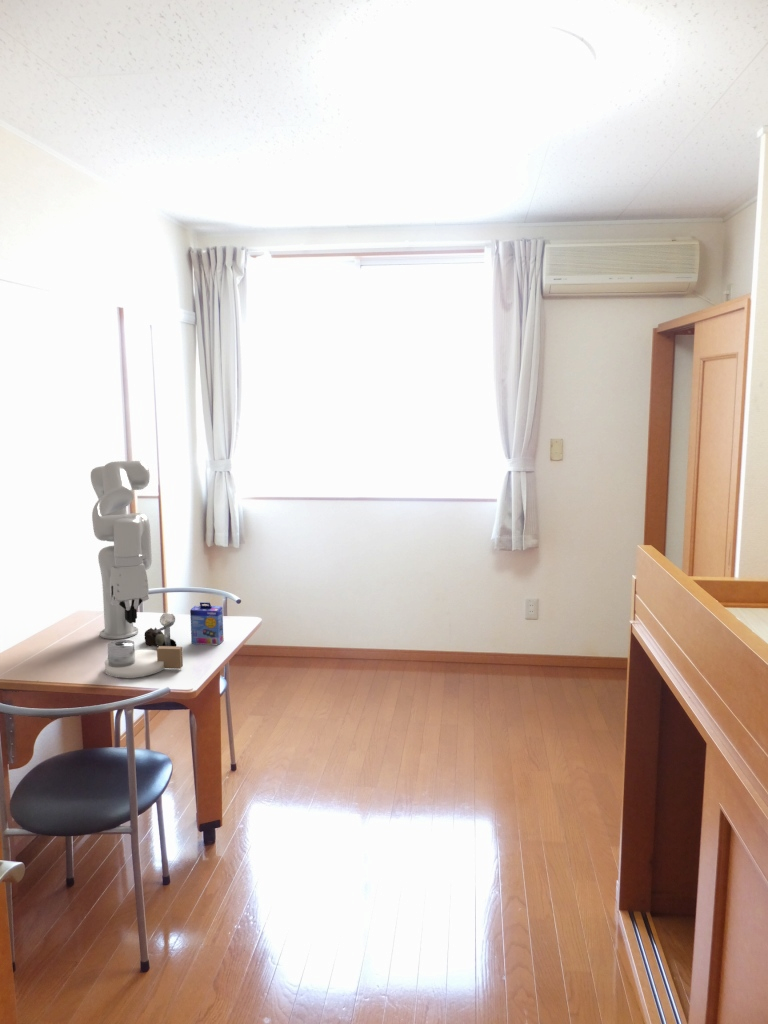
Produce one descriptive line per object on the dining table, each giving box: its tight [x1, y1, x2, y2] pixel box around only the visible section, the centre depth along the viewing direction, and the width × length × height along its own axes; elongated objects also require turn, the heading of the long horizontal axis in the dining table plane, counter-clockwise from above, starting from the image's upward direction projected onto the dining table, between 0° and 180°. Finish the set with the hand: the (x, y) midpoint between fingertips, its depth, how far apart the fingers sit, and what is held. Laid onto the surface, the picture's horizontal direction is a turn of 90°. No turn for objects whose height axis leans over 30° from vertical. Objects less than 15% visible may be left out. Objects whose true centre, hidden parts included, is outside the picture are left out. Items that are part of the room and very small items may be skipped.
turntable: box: [104, 645, 184, 679], centre depth 226 cm, size 23×18×6 cm
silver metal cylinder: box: [106, 639, 136, 667], centre depth 222 cm, size 8×8×6 cm
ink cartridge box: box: [189, 601, 225, 645], centre depth 251 cm, size 10×6×14 cm, turn 85°
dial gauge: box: [154, 612, 176, 646], centre depth 238 cm, size 5×8×14 cm
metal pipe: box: [143, 627, 178, 647], centre depth 248 cm, size 18×7×6 cm, turn 35°
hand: (131, 621), depth 218 cm, fingers closed
